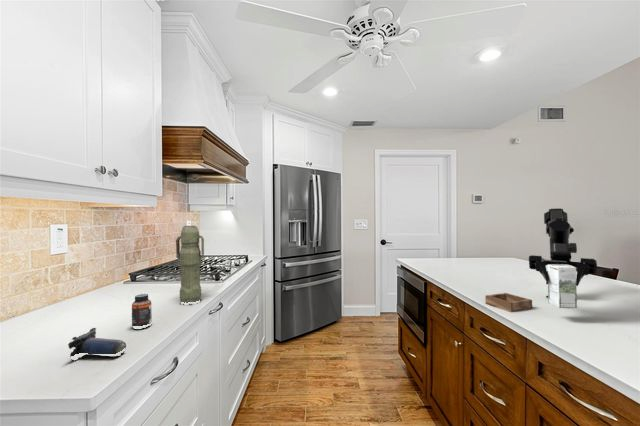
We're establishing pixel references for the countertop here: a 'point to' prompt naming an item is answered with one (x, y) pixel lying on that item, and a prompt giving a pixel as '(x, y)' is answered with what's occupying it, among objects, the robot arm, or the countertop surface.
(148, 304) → the supplement bottle
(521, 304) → the walnut caddy
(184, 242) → the thermos
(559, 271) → the syrup box
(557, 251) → the robot arm
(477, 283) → the countertop surface
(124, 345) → the spiky navy capsule
